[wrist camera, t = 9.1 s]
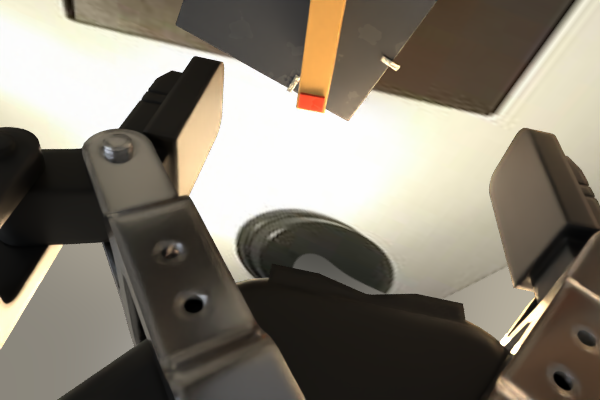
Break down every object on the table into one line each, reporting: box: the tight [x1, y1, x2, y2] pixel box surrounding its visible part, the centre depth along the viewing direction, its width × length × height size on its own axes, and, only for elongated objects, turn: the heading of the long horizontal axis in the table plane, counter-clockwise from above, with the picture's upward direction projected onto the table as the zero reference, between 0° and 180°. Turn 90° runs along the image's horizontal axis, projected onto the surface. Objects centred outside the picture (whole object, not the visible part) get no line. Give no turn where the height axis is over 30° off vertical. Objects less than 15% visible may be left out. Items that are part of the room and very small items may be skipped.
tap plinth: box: [176, 0, 438, 121], centre depth 30 cm, size 15×11×4 cm
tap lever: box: [296, 0, 346, 113], centre depth 27 cm, size 7×2×5 cm, turn 173°
